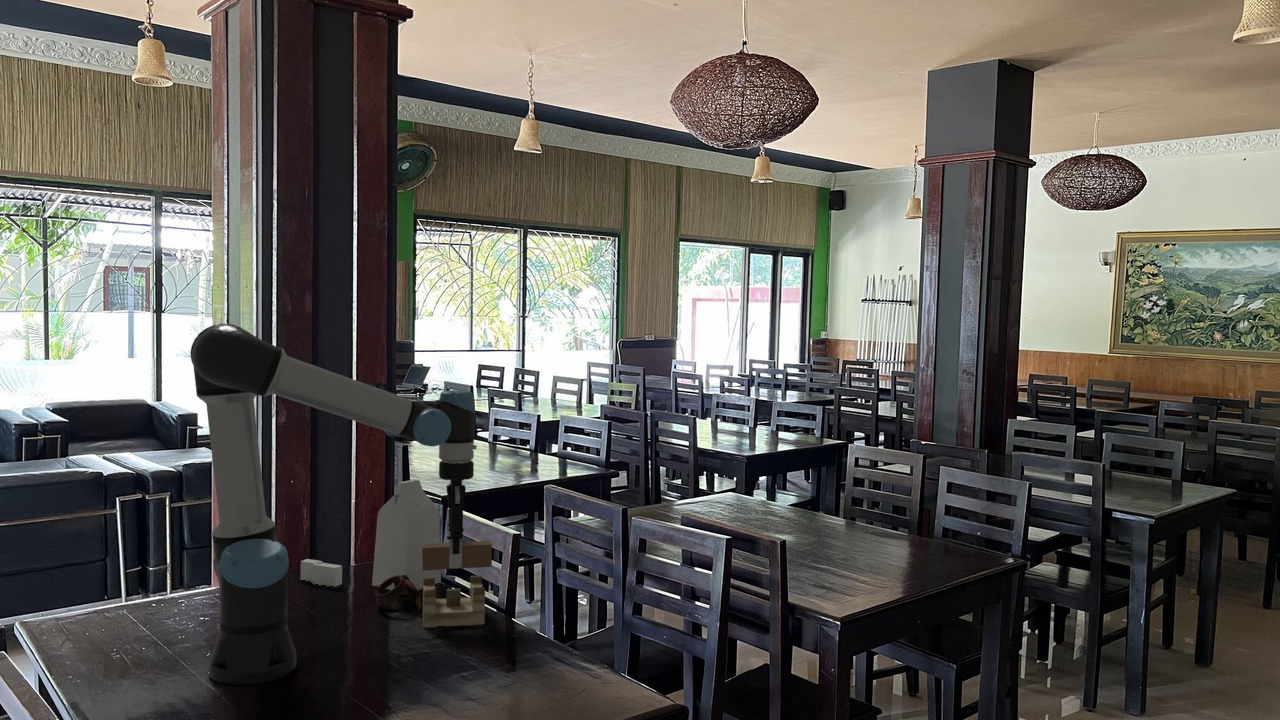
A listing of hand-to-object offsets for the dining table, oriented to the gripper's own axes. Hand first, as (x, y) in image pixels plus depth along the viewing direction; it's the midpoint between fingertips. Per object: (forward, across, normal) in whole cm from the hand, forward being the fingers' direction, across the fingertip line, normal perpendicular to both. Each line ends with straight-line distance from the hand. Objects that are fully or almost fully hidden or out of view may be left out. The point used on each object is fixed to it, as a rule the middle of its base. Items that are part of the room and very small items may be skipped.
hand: (454, 564), depth 202 cm
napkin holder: (+13, +32, +31) cm, 46 cm away
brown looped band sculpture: (+13, +11, +12) cm, 20 cm away
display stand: (+12, 0, 0) cm, 12 cm away
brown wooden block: (0, 0, 0) cm, 1 cm away
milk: (+12, +27, +10) cm, 31 cm away
